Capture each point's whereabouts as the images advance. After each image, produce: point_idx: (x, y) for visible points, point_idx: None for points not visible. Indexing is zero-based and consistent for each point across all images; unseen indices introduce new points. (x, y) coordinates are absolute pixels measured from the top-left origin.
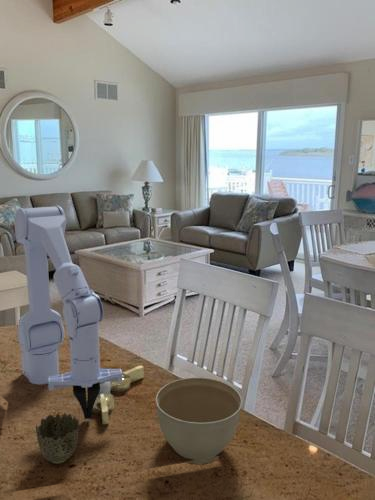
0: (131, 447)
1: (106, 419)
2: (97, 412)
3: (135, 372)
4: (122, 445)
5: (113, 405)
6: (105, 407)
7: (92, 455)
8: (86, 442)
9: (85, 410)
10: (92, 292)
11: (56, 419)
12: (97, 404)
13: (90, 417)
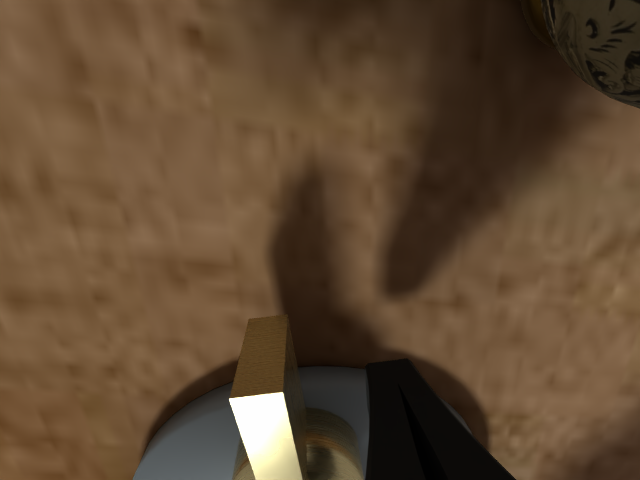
0: (68, 96)
1: (258, 341)
2: (325, 416)
3: None
4: (142, 131)
5: (235, 461)
6: (261, 442)
7: (345, 40)
8: (383, 196)
9: (430, 415)
10: None
11: None
12: (328, 472)
13: (371, 367)
